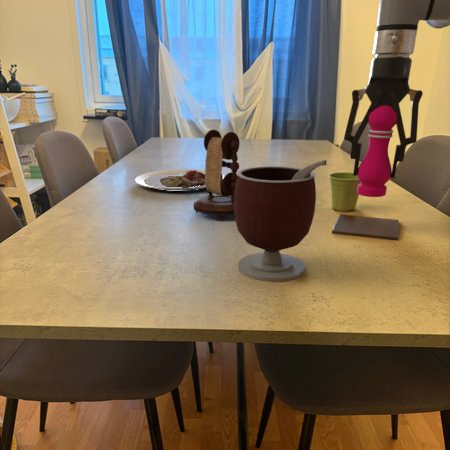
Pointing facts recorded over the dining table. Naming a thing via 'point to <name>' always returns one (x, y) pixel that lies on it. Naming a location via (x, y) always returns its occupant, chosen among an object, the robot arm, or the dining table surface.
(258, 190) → the mate gourd
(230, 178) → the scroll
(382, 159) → the pepper mill
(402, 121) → the robot arm
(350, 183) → the plant pot
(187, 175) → the plated food
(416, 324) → the dining table surface
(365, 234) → the coaster board
